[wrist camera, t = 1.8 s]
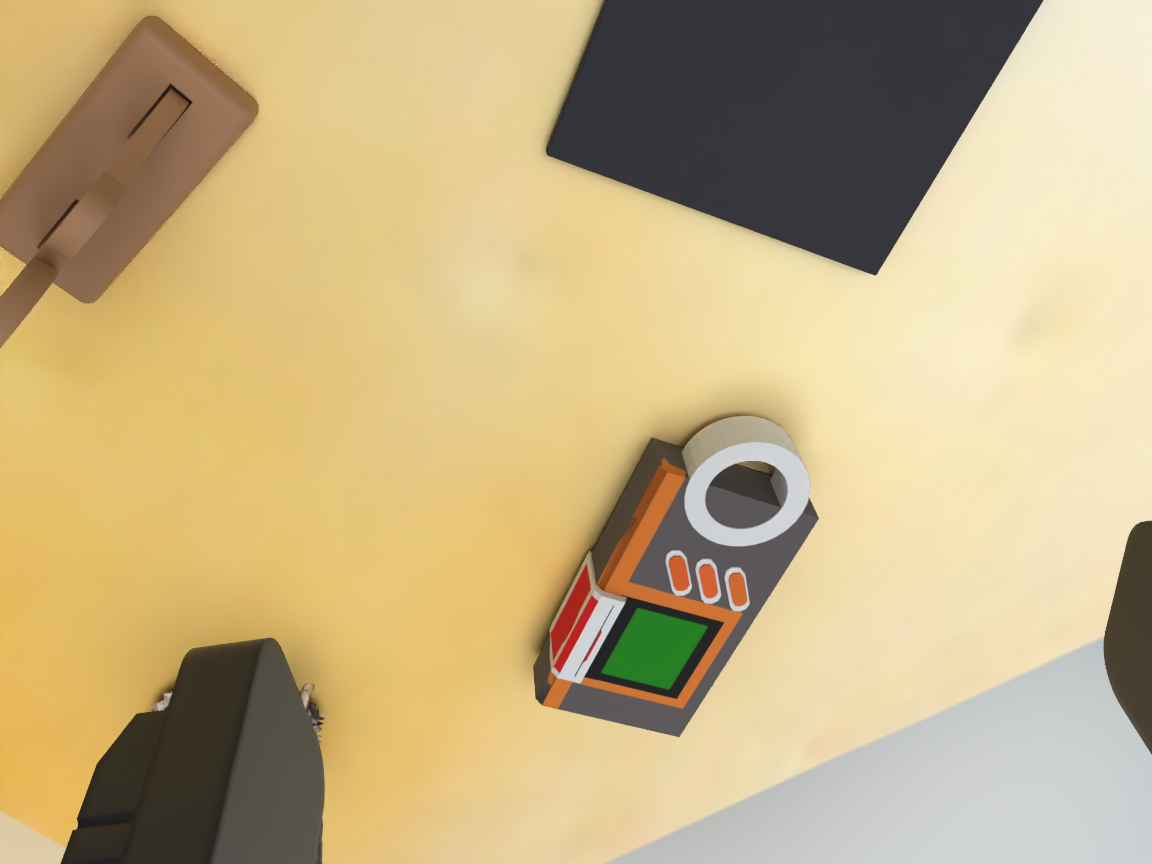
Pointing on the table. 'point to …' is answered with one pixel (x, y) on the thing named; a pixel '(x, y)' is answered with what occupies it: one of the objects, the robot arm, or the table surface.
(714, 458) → the electronic device
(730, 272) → the table surface
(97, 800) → the robot arm
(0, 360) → the table surface
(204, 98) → the brown scrollwork wall hook
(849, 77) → the mat
